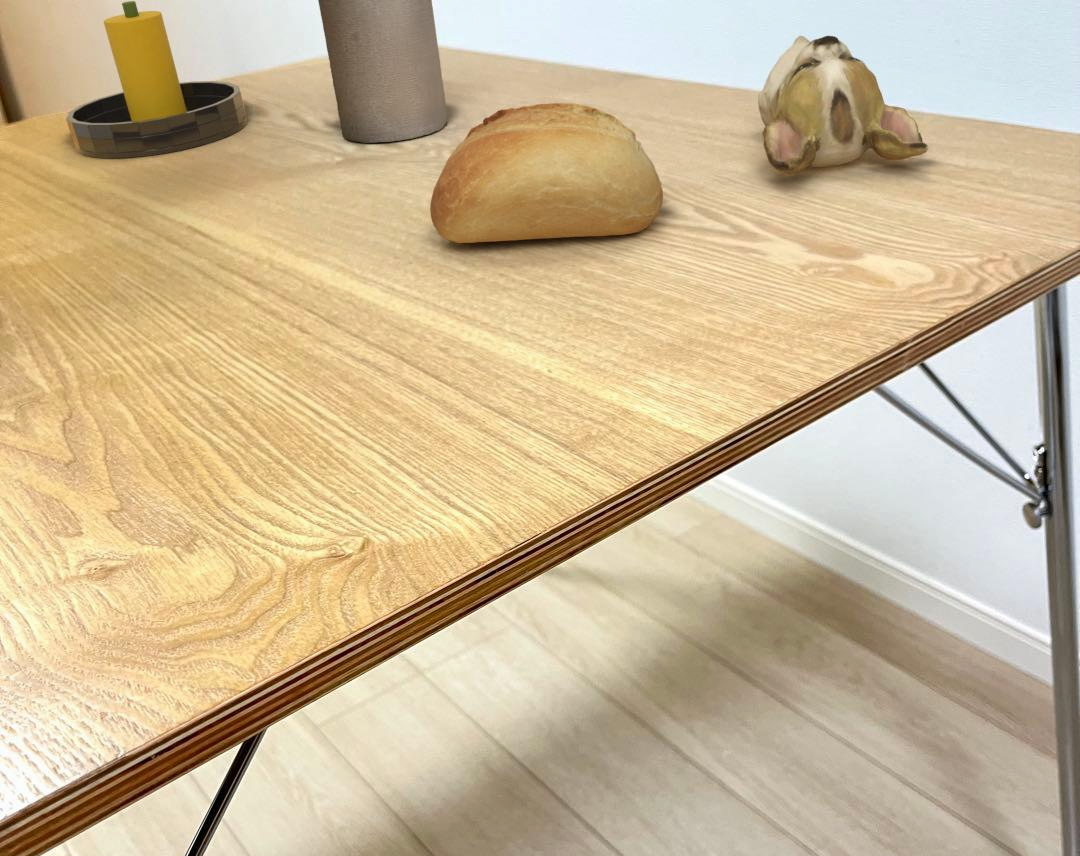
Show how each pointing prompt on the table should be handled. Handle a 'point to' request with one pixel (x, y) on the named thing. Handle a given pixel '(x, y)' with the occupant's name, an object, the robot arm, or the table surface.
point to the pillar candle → (384, 68)
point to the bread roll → (546, 178)
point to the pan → (157, 123)
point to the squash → (144, 63)
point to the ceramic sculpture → (829, 110)
